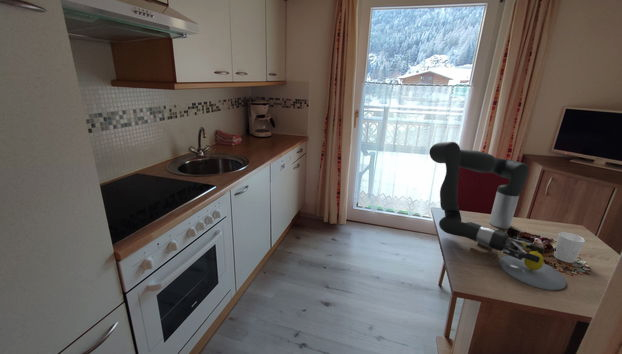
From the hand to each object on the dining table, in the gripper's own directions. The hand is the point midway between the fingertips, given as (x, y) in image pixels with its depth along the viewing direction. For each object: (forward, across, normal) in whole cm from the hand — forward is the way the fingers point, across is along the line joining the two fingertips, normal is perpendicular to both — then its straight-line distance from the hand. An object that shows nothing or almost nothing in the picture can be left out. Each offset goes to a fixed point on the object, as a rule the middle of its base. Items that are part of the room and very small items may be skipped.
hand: (541, 255), depth 103 cm
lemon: (-2, 0, +7) cm, 7 cm away
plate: (-1, 0, +8) cm, 8 cm away
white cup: (+6, +23, +8) cm, 25 cm away
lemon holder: (-18, +1, +8) cm, 19 cm away
